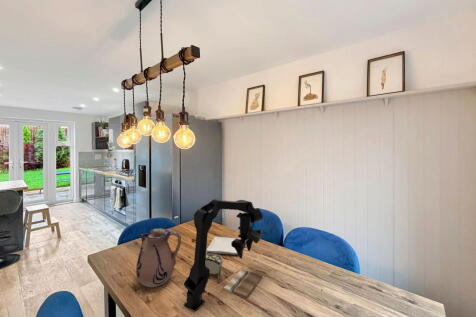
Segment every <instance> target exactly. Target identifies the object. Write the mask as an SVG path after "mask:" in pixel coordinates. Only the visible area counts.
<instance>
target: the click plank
mask: <svg viewBox="0 0 476 317" xmlns="http://www.w3.org/2000/svg"><path fill="white" fill-rule="evenodd" d="M263 276H264V275H263V274H260V273H256V272H253V271H248V274H247V275H246V276H245V278H244V279H243V280H242V281H241V282H240V283H239V284H238V286H237V287H236V288H235V289H234V290H233V291H232V293H233V294H234V295H237V296H239V297H242V298H245V299H248V298H249V296H251V294H252V293H253V291H254V290H255V289H256V287H257V286H258V284H259V283H260V282H261V280H262V279H263Z"/></svg>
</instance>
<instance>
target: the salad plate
mask: <svg viewBox="0 0 476 317" xmlns="http://www.w3.org/2000/svg"><path fill="white" fill-rule="evenodd" d="M236 238H237V239H240V237H226V236H214V237H213V239H212V241H211V242H210V243H209V246H208V247H207V248H206V252H208V253H209V254H218V255H221V254H223V255H233V256H236V255H238V253H237V251H236V250H235V248H234V247H232V246H231V242H232V241H234V240H235V239H236Z"/></svg>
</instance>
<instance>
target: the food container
mask: <svg viewBox="0 0 476 317" xmlns="http://www.w3.org/2000/svg"><path fill="white" fill-rule="evenodd" d="M223 263H224V262H223V257H222V256H221V254H219V253H206V261H205V266H206V267H208V268H209V269H210V272H209V279H214V280H215V281H219V280H220V279H221V274H222V272H221V271H222V266H223Z"/></svg>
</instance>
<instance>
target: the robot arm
mask: <svg viewBox="0 0 476 317" xmlns="http://www.w3.org/2000/svg"><path fill="white" fill-rule="evenodd" d="M220 210H230V211H231V210H233V211H240V212H239V213H237V215H236V218H237V219H239V226H238V227H237V230H239V234H238V235H237V237H235V238H236V239H235V240H234V241H232V242H231V246H232V247H234V248H235V250H236V251H237V253H238V254H237V255H238V257H239V259H243V254H244V249H245V248H247V251H248V252H251V249H252V245H253V242H254V243H255V244H258V243H259V242H260V241H261V239H262V237H263V233H262V230H261V229H260V228H259V229H257V230H256V229H255V230H254V228H253V226H252V224H255V223H258V222H260V221H263V218H264V217H263V214H262V212H261V209H260V208H255V207H254V204H253V202H251V201H250V200H249V201H248V200H245V199H237V200H235V201H233V200H223V199H222V200H221V199H216V198H214V199H211V201H210V202H208V203H206V204H205V205H202V206H201V207H200V209H198V210H196V211H195V212H194V214H193V224H194V227H195V230H196V233H195V234H196V236H195V248H194V260H193V264H192V266H191V267H190V271H189V275H188V276H187V277H186V280H185V281H184V283H183V286H184V288H185V289H187V292H186V302H185V303H183V306H184V307H186V308H187V309H188V310H189V309H190V310H192V311H194V312H196V311H197V310H198V309H200V307H202V305H203V304H204V303H205V300H204V299H203V294H204V293H205V292H206V288H207V284H208V282H209V279H210V277H209V272H210V269H209V268H208V267H206V266H205V261H206V254H207V248H208V247H207V246H208V245H207V244H208V232H209V230H210V229H211V227H212V224H213V221H214V219H216V218H217V216H218V215H219V212H220ZM237 238H239V239H237Z"/></svg>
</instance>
